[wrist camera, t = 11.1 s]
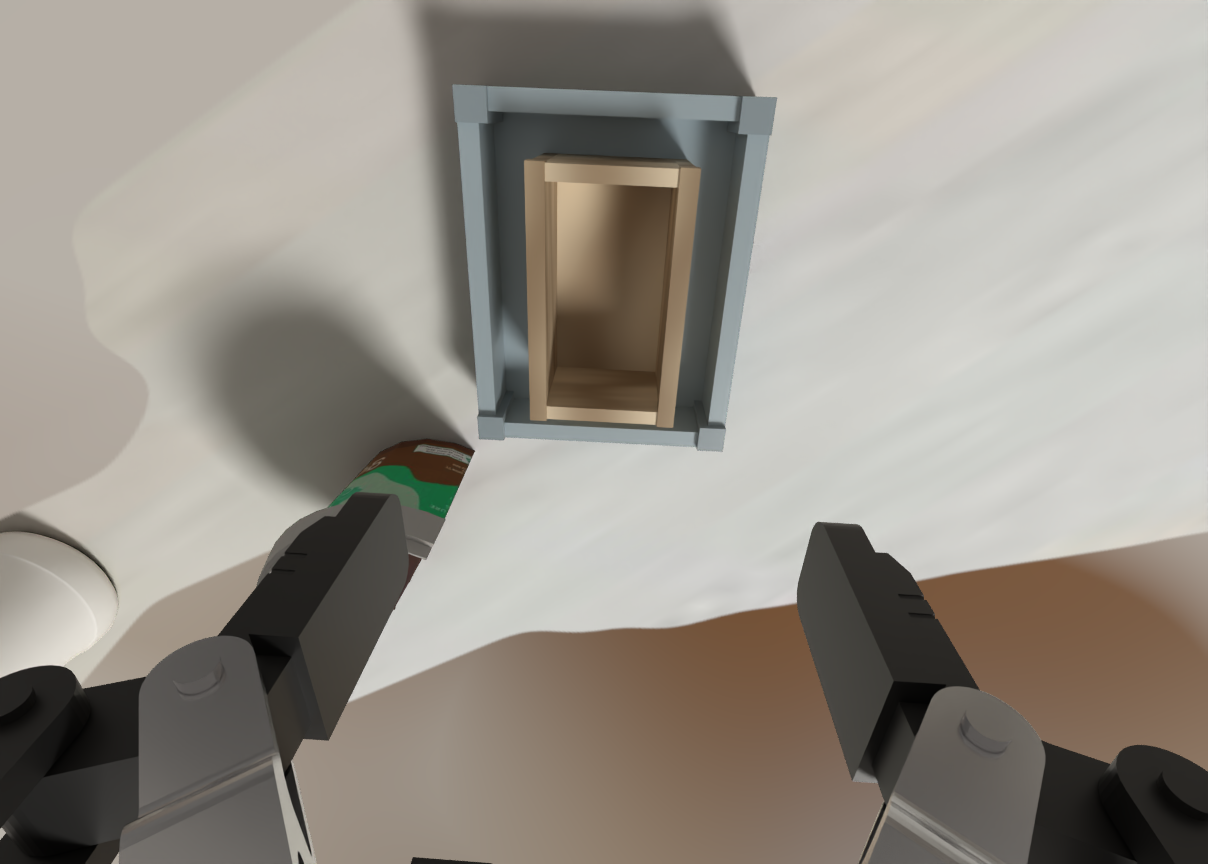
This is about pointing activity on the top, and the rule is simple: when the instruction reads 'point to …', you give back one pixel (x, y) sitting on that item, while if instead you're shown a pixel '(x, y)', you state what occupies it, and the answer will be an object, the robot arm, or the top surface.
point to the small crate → (607, 284)
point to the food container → (400, 494)
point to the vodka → (49, 602)
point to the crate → (610, 128)
